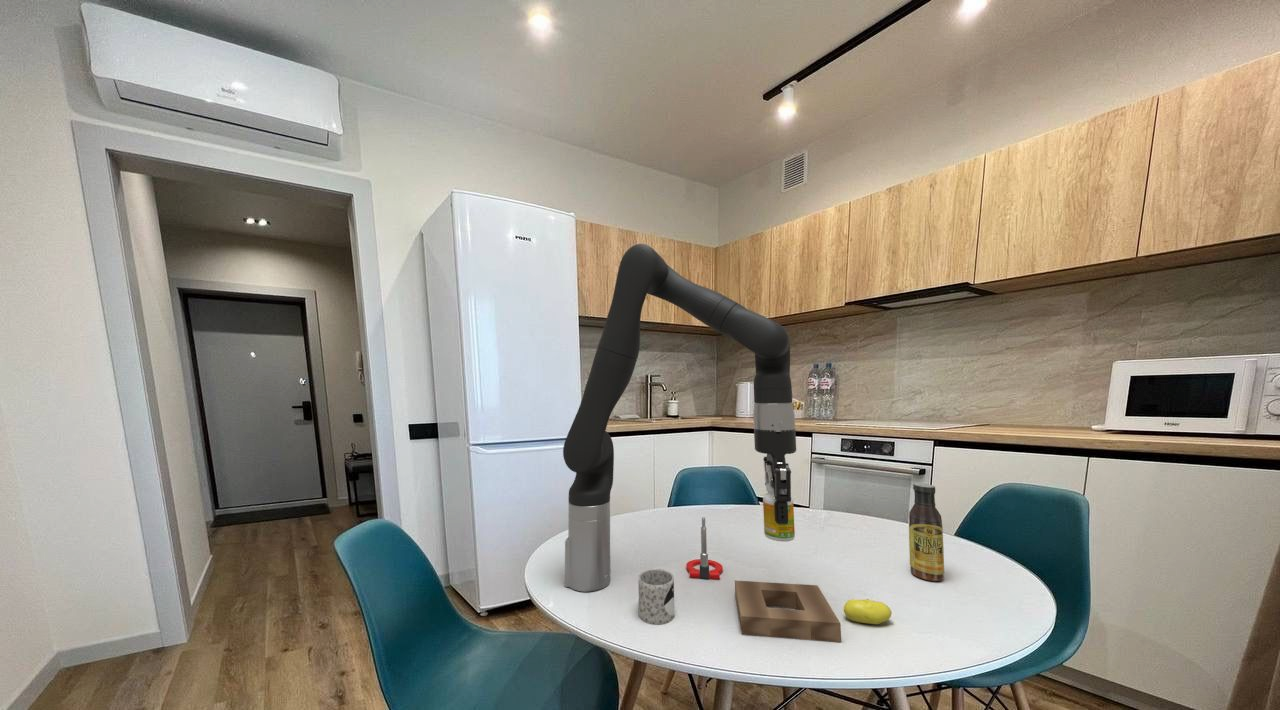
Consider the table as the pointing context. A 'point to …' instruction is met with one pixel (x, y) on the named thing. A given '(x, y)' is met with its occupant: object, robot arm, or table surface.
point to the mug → (656, 597)
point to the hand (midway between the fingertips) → (778, 517)
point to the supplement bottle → (770, 526)
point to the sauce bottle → (926, 535)
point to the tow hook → (704, 561)
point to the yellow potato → (867, 611)
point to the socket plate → (785, 611)
